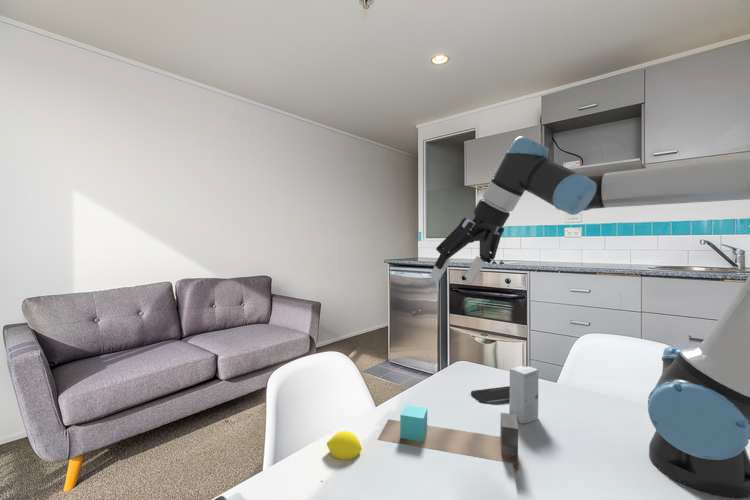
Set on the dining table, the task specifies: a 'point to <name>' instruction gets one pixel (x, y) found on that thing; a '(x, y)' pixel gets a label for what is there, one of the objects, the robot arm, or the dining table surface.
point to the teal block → (413, 423)
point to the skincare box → (524, 393)
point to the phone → (492, 395)
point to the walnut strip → (465, 440)
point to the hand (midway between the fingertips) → (451, 279)
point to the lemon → (344, 445)
